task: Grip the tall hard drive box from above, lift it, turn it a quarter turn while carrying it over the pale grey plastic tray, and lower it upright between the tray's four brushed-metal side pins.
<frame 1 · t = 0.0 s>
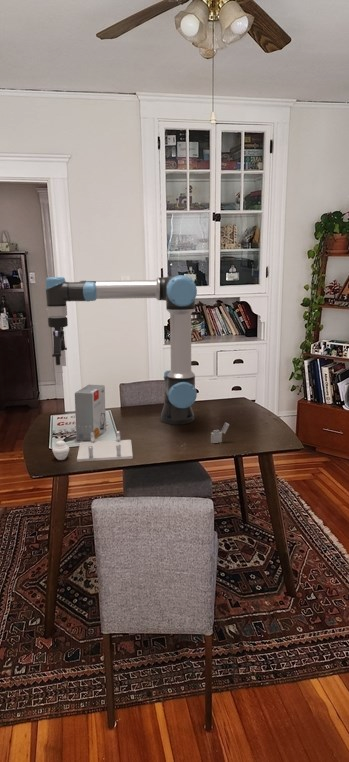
hand: (60, 369, 199), 28 cm above the table, tool pointing down, fingers open, 13 cm apart
pin tray: (105, 451, 186), on the table
white lidded jar: (61, 459, 180), on the table
lighter: (219, 443, 194), on the table
hard drive box: (91, 435, 205), on the table
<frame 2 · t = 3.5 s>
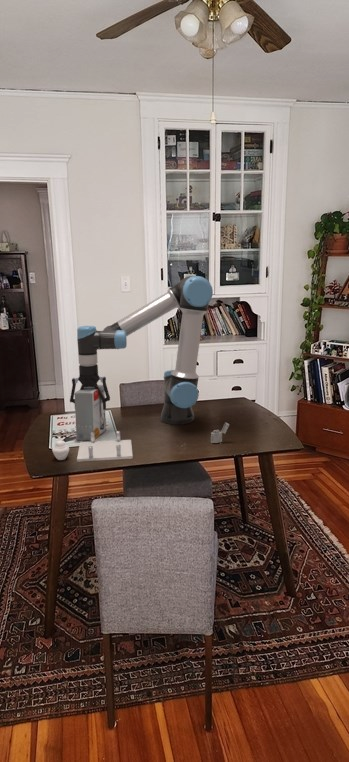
hand: (91, 417, 203), 7 cm above the table, tool pointing down, fingers closed on hard drive box, 9 cm apart
hard drive box: (91, 435, 205), on the table, touching gripper
everything else where it was.
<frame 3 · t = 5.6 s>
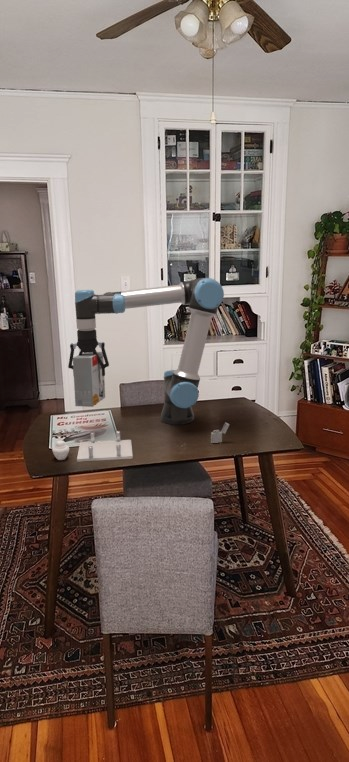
hand: (89, 384, 200), 22 cm above the table, tool pointing down, fingers closed on hard drive box, 9 cm apart
hard drive box: (91, 402, 201), point 14 cm above the table, touching gripper
everything else where it was.
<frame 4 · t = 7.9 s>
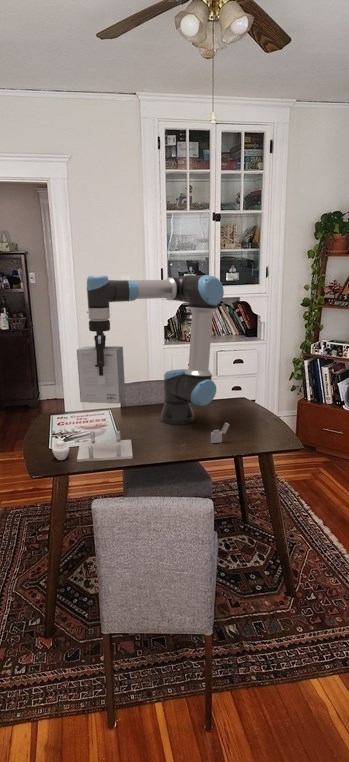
hand: (102, 381, 180), 27 cm above the table, tool pointing down, fingers closed on hard drive box, 9 cm apart
hard drive box: (102, 401, 182), point 20 cm above the table, touching gripper
everything else where it was.
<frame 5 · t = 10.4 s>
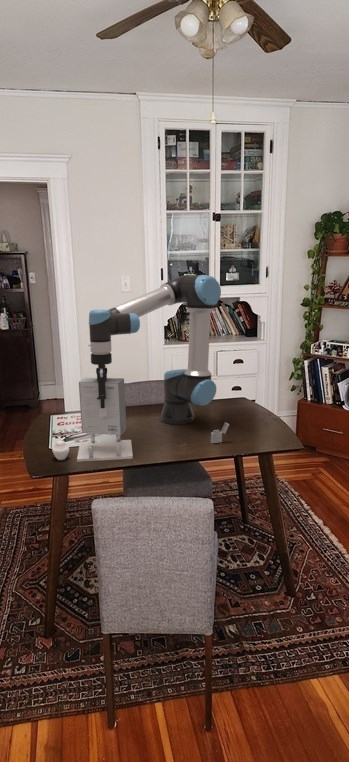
hand: (103, 412, 182), 16 cm above the table, tool pointing down, fingers closed on hard drive box, 9 cm apart
hard drive box: (104, 431, 184), point 8 cm above the table, touching gripper
everything else where it was.
when the fingers open (8 cm above the table, at t = 12.3 s): hard drive box stays where it is, resting on pin tray.
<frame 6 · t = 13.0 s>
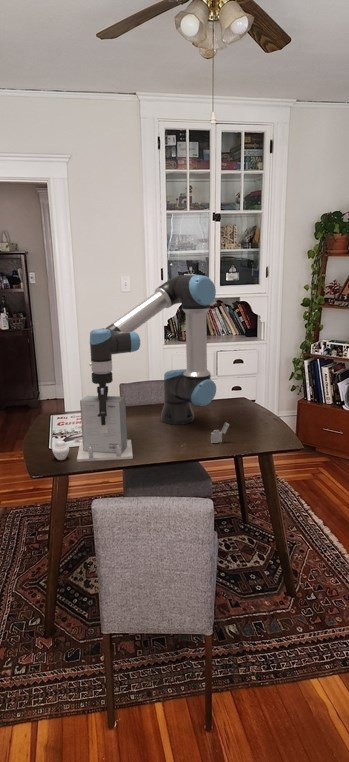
hand: (104, 427, 184), 10 cm above the table, tool pointing down, fingers open, 13 cm apart
hard drive box: (105, 449, 186), point 1 cm above the table, touching pin tray
everything else where it was.
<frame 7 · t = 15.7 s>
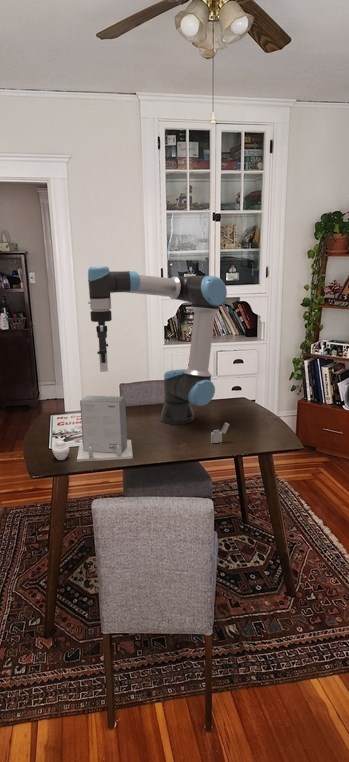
hand: (104, 367, 182), 32 cm above the table, tool pointing down, fingers open, 13 cm apart
nothing on the table moved.
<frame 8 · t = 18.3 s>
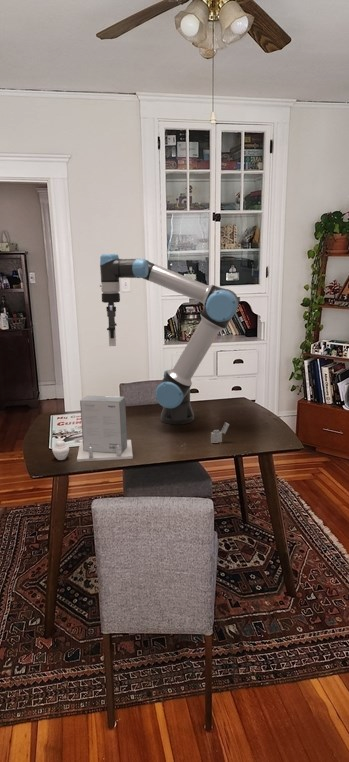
hand: (112, 343, 207), 37 cm above the table, tool pointing down, fingers open, 13 cm apart
nothing on the table moved.
at the end: hard drive box 0.1 cm off-centre on the pin tray, point 0.8 cm above the pin tray's base; hard drive box tilted 0°; the gripper is holding nothing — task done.
